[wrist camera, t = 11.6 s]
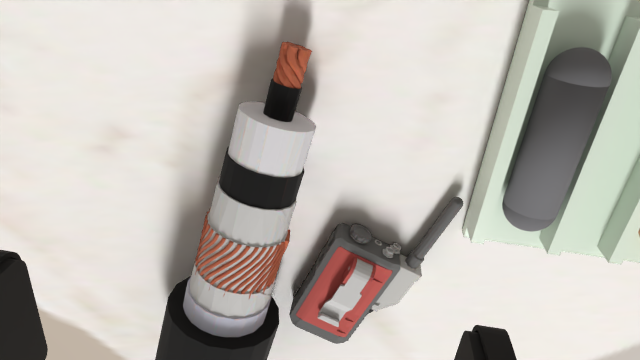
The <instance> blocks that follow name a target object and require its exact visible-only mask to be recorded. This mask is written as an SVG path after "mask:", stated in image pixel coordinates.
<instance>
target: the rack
mask: <svg viewBox="0 0 640 360" xmlns="http://www.w3.org/2000/svg"><path fill="white" fill-rule="evenodd" d="M578 47H586V48H591V49H594V50H596V51H598V52H600V53H601V54H602V55H604V56H605V58H606V59H607V60H608V62H609V64H610V66H611V71H612V79H611V83H610V86H609V88H608V91H607V93H606V96H605V98H604V101H603V103H602V106H601V108H600V111H599V113H598V116H597V118H596V121H595V123H594V126H593V128H592V131H591V133H590V136H589V138H588V141H587V143H586V146H585V148H584V150H583V153H582V155H581V158H580V160H579V163H578V165H577V168H576V170H575V173H574V175H573V178H572V180H571V183H570V185H569V188H568V190H567V193H566V195H565V198H564V200H563V203H562V205H561V208H560V210H559V213H558V215H557V217H556V219H555V220H554V221H553V223H552V224H551V225H549V226H548V227H546V228H544V229H542V230H539V231H532V232H530V231H524V230H521V229H518V228H516V227H514V226H513V225H512V224H511V223H510V222H509V221H508V220H507V219H506V217H505V215H504V212H503V209H502V202H503V197H504V194H505V191H506V188H507V185H508V182H509V179H510V176H511V173H512V170H513V167H514V164H515V161H516V158H517V155H518V152H519V149H520V146H521V143H522V140H523V137H524V134H525V131H526V128H527V124H528V121H529V118H530V115H531V112H532V109H533V106H534V103H535V100H536V97H537V94H538V91H539V88H540V85H541V82H542V79H543V76H544V73H545V71H546V68H547V66H548V65H549V63H550V62H551V61H552V60H553V59H554V58H555V57H556V56H557V55H559V54H560V53H562V52H564V51H566V50H568V49H572V48H578ZM639 229H640V0H529V4H528V7H527V10H526V14H525V17H524V21H523V24H522V28H521V31H520V34H519V38H518V41H517V45H516V48H515V51H514V55H513V58H512V62H511V65H510V69H509V72H508V75H507V79H506V82H505V86H504V89H503V92H502V96H501V99H500V103H499V106H498V109H497V113H496V116H495V120H494V123H493V127H492V130H491V133H490V137H489V140H488V144H487V147H486V150H485V154H484V157H483V161H482V164H481V168H480V171H479V174H478V178H477V181H476V185H475V188H474V191H473V195H472V198H471V202H470V205H469V208H468V212H467V215H466V219H465V222H464V226H463V229H462V233H463V236H464V237H466V238H470V240H471V242H472V243H479V244H484V241H485V240H487V241H493V242H500V243H507V244H514V245H521V246H528V247H534V248H541V249H545V250H546V252H547V254H553V255H560V254H561V252H568V253H575V254H582V255H589V256H596V257H603V258H606V260H607V261H608V263H614V264H622V262H623V261H630V262H637V263H640V237H639V233H638V231H639Z"/></svg>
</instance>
